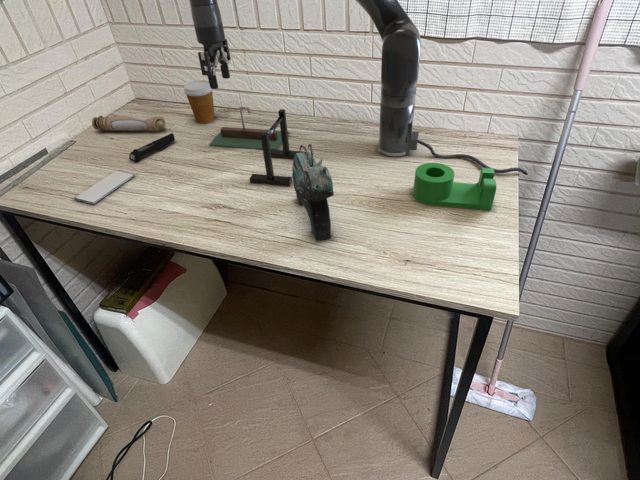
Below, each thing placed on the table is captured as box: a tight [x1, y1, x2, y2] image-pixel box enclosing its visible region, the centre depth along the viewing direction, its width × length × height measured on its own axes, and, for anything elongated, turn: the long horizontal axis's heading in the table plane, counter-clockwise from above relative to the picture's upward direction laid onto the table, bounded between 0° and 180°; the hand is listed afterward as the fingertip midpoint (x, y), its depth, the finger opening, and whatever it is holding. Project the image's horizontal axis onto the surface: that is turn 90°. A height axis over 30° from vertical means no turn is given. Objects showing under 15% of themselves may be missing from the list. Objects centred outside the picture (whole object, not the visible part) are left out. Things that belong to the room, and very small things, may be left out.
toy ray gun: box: [291, 143, 335, 242], centre depth 93 cm, size 20×6×20 cm, turn 17°
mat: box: [208, 130, 290, 151], centre depth 133 cm, size 22×12×1 cm, turn 76°
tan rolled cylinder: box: [91, 115, 166, 132], centre depth 141 cm, size 6×25×5 cm, turn 82°
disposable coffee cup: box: [183, 79, 216, 124], centre depth 143 cm, size 10×10×12 cm
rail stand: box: [249, 108, 305, 188], centre depth 114 cm, size 16×11×14 cm
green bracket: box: [412, 162, 497, 211], centre depth 102 cm, size 18×9×6 cm, turn 78°
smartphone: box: [74, 170, 135, 205], centre depth 115 cm, size 7×1×15 cm
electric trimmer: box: [128, 132, 175, 163], centre depth 130 cm, size 4×16×3 cm, turn 143°
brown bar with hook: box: [219, 106, 278, 141], centre depth 130 cm, size 18×2×10 cm, turn 76°
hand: (220, 83), depth 124 cm, fingers open, 8 cm apart
